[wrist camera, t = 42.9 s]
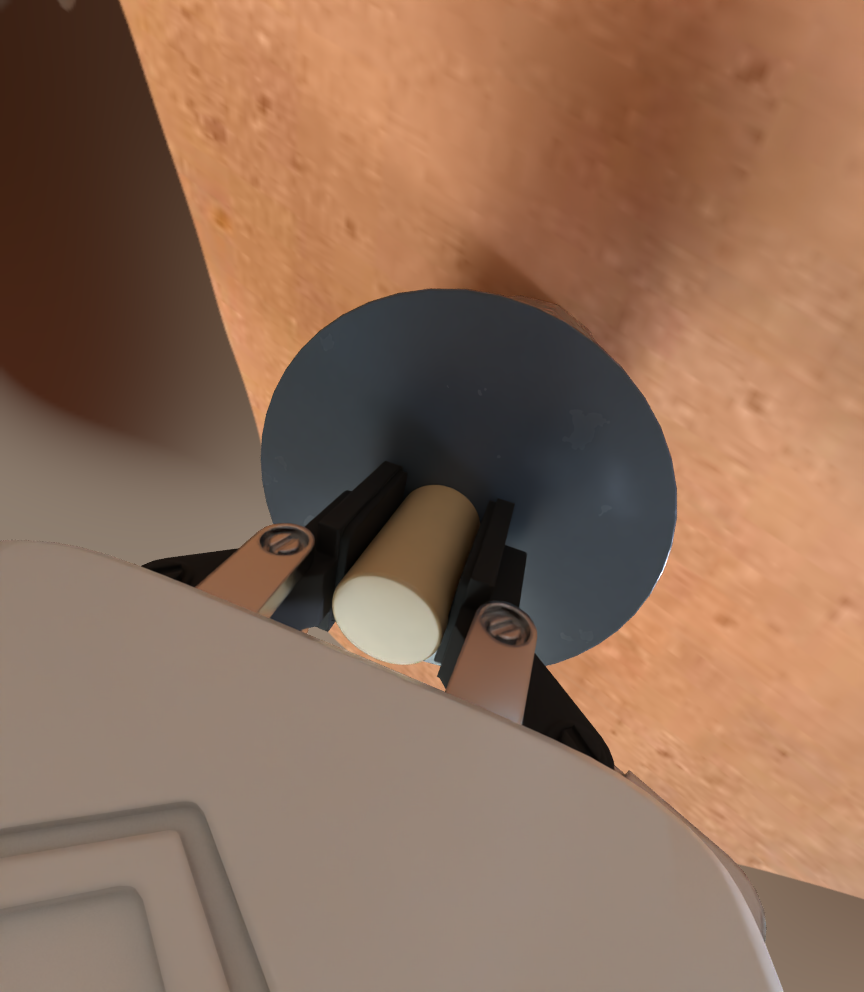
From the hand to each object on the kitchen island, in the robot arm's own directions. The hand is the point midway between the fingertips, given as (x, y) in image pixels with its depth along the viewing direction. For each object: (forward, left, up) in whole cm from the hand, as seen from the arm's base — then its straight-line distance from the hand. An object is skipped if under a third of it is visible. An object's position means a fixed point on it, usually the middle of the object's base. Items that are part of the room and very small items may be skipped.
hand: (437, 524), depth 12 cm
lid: (0, 0, -1) cm, 1 cm away
